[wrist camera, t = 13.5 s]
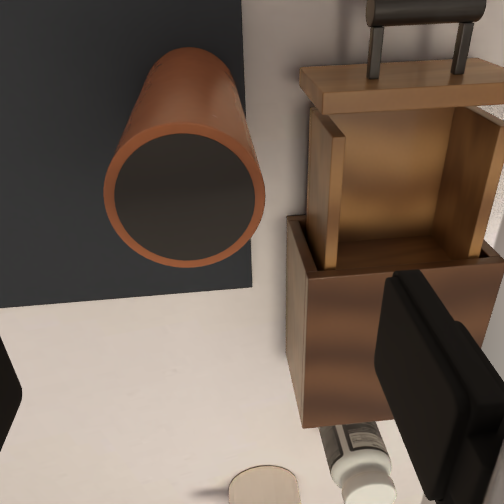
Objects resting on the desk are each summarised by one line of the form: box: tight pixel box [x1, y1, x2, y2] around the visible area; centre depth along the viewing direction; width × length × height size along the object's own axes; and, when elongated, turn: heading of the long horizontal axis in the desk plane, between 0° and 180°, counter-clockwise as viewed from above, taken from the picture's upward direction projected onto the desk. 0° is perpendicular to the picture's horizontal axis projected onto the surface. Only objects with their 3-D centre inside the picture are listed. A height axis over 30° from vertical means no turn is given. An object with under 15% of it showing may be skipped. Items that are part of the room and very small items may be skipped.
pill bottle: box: [318, 421, 397, 504], centre depth 46 cm, size 6×6×10 cm
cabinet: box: [286, 215, 504, 429], centre depth 38 cm, size 15×13×9 cm
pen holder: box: [103, 47, 265, 268], centre depth 24 cm, size 6×6×16 cm
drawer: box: [299, 0, 504, 271], centre depth 30 cm, size 18×12×7 cm
